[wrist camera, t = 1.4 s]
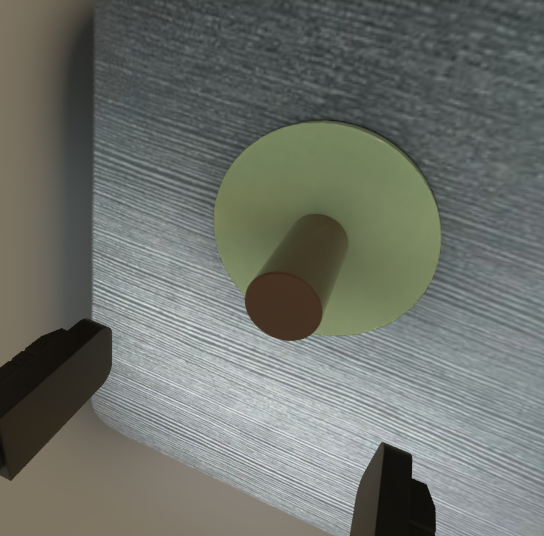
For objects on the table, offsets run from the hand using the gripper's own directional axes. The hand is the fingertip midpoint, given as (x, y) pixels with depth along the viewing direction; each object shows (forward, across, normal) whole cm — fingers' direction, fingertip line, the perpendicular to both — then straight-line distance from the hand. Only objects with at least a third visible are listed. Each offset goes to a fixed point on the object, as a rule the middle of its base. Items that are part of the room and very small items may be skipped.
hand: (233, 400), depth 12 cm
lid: (+11, 0, 0) cm, 11 cm away
